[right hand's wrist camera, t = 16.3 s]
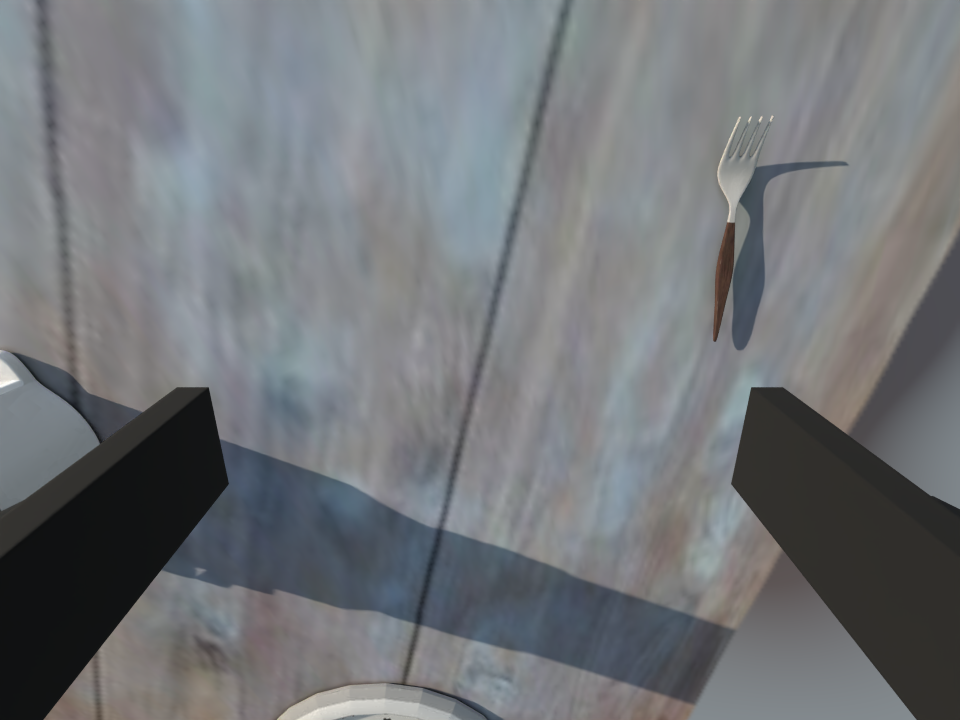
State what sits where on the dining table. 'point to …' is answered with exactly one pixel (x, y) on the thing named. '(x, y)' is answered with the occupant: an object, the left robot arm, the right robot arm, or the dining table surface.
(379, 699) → the wall clock
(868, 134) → the dining table surface
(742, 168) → the fork
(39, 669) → the right robot arm
